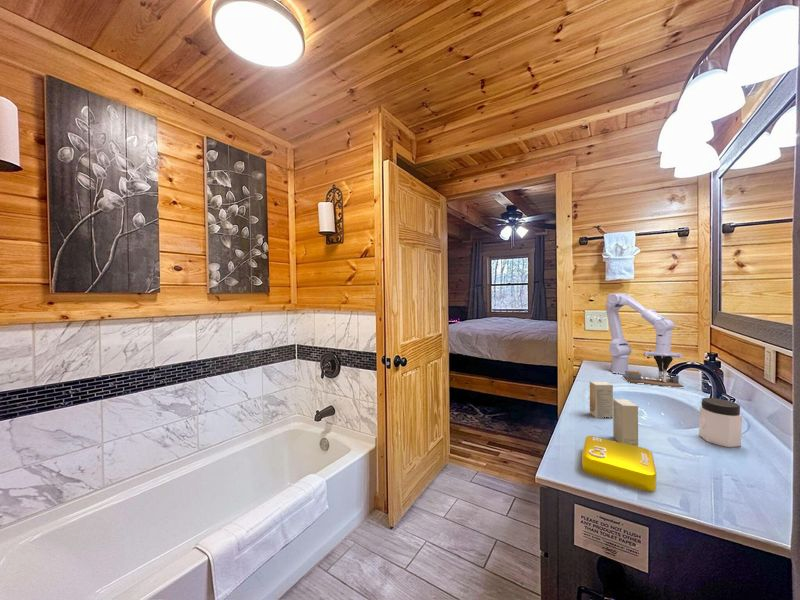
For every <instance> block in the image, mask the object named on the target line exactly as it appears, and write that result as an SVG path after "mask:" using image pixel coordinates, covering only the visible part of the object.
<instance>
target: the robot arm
mask: <svg viewBox="0 0 800 600" xmlns="http://www.w3.org/2000/svg"><path fill="white" fill-rule="evenodd" d="M605 306H606V307H605V313H606V316H607V321H608V327H609V331H610V335H611V341H610V342H609V348H608V349H609V354H610V355H611V359H610V368H609V369H610V370H611V371H612V372H614V373H619V374H618V375H625V371H629V356H630V355H631V353H632V348H631V346H630V345H629V342H628V341H627V340H626V339H625V336H624V333H623V327H622V323H621V318H620V314H619V310H620V309H622V308H623V307H624V306H628V307H630V308H632V309H633V310H635V311H636V312H638V313H639V314H641V318H642V319H644V320H645V321H646V322H648V323H649V324H650V325H652V327H653V329H654V330H655V351H647V350H645V351H644V355H643V356H645V357H653V359H654V360H655V362H656V364H657V368H658V372H659V371H660V372H662V368H663V369H665V370H666V371H667V370H668V368H669V366H670V365H671V363H672V361H673V360H674V358H677V359H678V358H679V359H683V356H684V355H683V354H682V353H679V352H678V353H677V352H672V330H673V329H674V328H675V323H674V322H673V320H671V318H666V317H665V316H664V315H663V316H662V315H660V313H657V310H655V309H651V308H646V307H645V306H643V305H642V304H641V303H640V302H638V301H637V300H636V299H635V298H633V296H631V295H629V294H628V293H626V292H621V293H619V292H618V293H617V292H616V293H615V292H612V293H609V295H608V296H607V297H606V305H605ZM610 370H609V371H610ZM611 371H610V372H611ZM612 372H611V373H612ZM662 373H663V372H662Z"/></svg>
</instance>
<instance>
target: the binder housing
mask: <svg viewBox="0 0 800 600" xmlns="http://www.w3.org/2000/svg"><path fill="white" fill-rule="evenodd" d="M624 375H625V377H626V378H627V379H628V380H639V381H641V377H642V374H641V373H640V371H634V370H628V371H625V374H624Z"/></svg>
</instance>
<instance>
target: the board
mask: <svg viewBox="0 0 800 600" xmlns="http://www.w3.org/2000/svg"><path fill="white" fill-rule="evenodd" d="M621 375H622V376H623V377H624V378H625V379H626V380H627V382H628V383H629V382H630V383H629V384H631V383H644V384H651V385H650V386H653V385H663V386H662V387H664V386H671V387H670V388H674V387H684V388H685V386H684V385H683V384H681V383H679V384H676V383H672V382H671V381H670V378H666V382H662V381H655V380H644V379H641V381H639V380H628V379H627V378H626V377H625V374H621ZM622 376H621V377H622ZM623 377H622V378H623ZM624 378H623V379H624ZM649 378H653V377H651V376H649ZM625 379H624V380H625ZM662 379H663V377H662ZM626 380H625V381H626Z"/></svg>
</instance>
